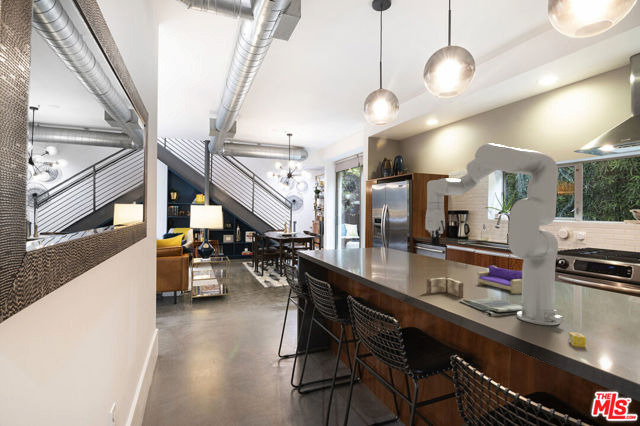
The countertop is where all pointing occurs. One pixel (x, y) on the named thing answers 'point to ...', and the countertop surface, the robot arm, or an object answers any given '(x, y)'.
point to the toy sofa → (502, 279)
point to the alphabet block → (577, 339)
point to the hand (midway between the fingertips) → (435, 245)
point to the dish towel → (493, 306)
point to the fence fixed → (454, 287)
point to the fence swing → (436, 285)
